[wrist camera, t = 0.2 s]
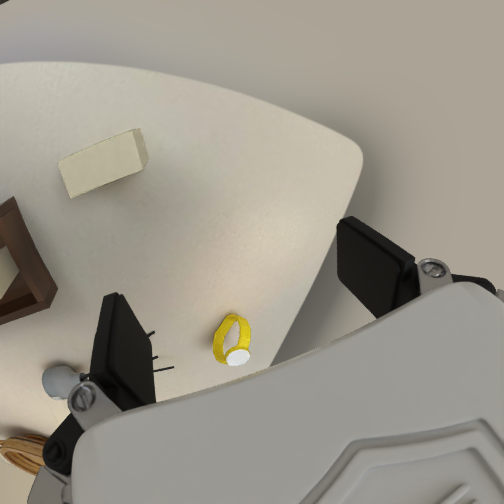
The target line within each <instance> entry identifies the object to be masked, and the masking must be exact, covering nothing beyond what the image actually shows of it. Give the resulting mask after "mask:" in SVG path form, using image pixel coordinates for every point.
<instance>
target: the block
mask: <svg viewBox="0 0 504 504" xmlns="http://www.w3.org/2000/svg"><path fill="white" fill-rule="evenodd" d="M18 273H19V269H18V267H17V266H16V264H15V262H14V260H13V258H12V256H11V254H10V252H9V250H8V248H7V246H5V247H3V248H1V249H0V299H2V297H3V295H4V294H5V292H6V291H7V289H8V288H9V286H10V284H11V283H12V281H13V280H14V278H15V277H16V275H17V274H18Z"/></svg>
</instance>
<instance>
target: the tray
mask: <svg viewBox="0 0 504 504" xmlns="http://www.w3.org/2000/svg"><path fill="white" fill-rule="evenodd" d="M5 246H7V248H8V250H9V252H10V254H11V256H12V258H13V260H14V262H15V264H16V266H17V267H18V269H19V273H18V274H17V275H16V277H15V278H14V280H13V281H12V283H11V284H10V286H9V288H8V289H7V291H6V292H5V294H4V295H3V297H2V299H0V325H2V324H5V323H8V322H11V321H13V320H16V319H19V318H22V317H25V316H27V315H30V314H33V313H36V312H39V311H41V310H44V309H47V308H50V305H51V303H52V301H53V298H54V296H55V294H56V292H57V289H58V287H57V286H56V284H55V282H54V280H53V279H52V277H51V275H50V273H49V272H48V270H47V268H46V266H45V264H44V262H43V260H42V259H41V257H40V255H39V253H38V251H37V249H36V247H35V245H34V243H33V240H32V238H31V236H30V234H29V232H28V230H27V227H26V225H25V223H24V221H23V218H22V216H21V213H20V211H19V208H18V206H17V203H16V201H15V198H14V196H13V197H12V198H10V199H8V200H7V201H5V202H4V203H2V204H1V205H0V249H1V248H3V247H5Z"/></svg>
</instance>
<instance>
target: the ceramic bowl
mask: <svg viewBox="0 0 504 504" xmlns="http://www.w3.org/2000/svg"><path fill="white" fill-rule="evenodd" d="M47 440H48V439H46V438H43V437H40V436H36V435H27V436H26V437H17V436H15V437H10V438H8V439H6V440H0V445H2V447H0V453H1V454H2V456H3V457H4V458H6V459H7V460H8V461H9V462H11V463H12V464H13V465H15V466H17V467H18V468H20V469H22V470H24V471H26V472H28V473H30V474H32V475H35V476H36V475H37V473H38V471H39V468H40V466H43V467H44V466H45V463H44V461H43V456H42V450H43V447H44V444H45V443H46V441H47Z"/></svg>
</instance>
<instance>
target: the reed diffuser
mask: <svg viewBox="0 0 504 504" xmlns="http://www.w3.org/2000/svg"><path fill="white" fill-rule="evenodd" d="M154 333H155V332H154V331H153V332H152V333H150V334H149V335H147V336H148V337H150V336H151V335H153V334H154ZM156 358H158V356H155V357H152V359H153V360H154V359H156ZM172 368H174V366H172V367H167V368H162V369H157V370H153V372H158V371H163V370H167V369H172ZM87 377H89V373H88V374H86V375H85V374H84V373H75V372H74V370H73V369H72V368H70V367H68V366H57V367H53V368H50V369H47V370H45V371H44V373H43V376H42V383H43V387H44V389H45V391H46V393H47V394H48V395H49V396H50V397H51V398H52V399H54V400H64V399H68V396H69V394H70V392H71V390H72V389H73V388H74V387H75V386H76V385H77V384H79V383H81V382H83V381H89V380H88V378H87Z"/></svg>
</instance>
